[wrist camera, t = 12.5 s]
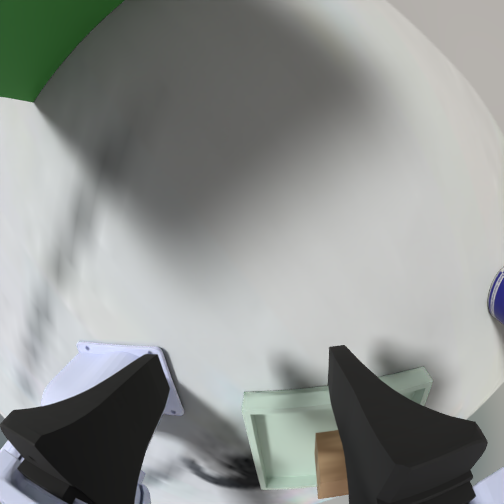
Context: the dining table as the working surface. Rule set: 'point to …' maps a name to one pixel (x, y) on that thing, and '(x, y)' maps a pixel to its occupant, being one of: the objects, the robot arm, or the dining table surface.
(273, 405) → the tray
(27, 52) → the hardback book
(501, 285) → the energy drink
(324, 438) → the walnut block
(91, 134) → the dining table surface
